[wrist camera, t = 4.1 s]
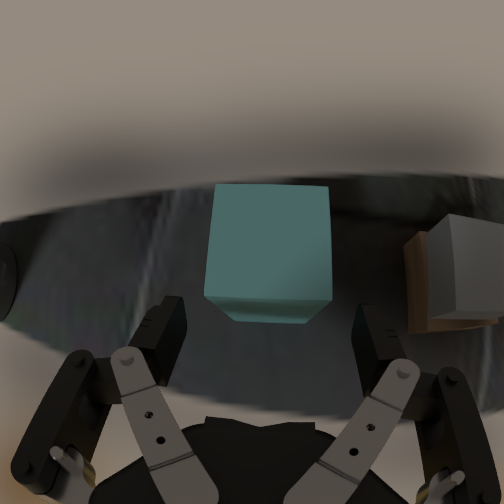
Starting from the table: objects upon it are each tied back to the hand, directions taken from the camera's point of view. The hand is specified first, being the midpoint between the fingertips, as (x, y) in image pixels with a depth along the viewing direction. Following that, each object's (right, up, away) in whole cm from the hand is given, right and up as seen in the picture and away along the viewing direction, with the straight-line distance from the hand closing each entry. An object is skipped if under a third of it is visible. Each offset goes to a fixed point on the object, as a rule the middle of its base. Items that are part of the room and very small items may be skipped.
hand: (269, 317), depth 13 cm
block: (+1, 0, +8) cm, 8 cm away
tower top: (+14, +1, +4) cm, 15 cm away
